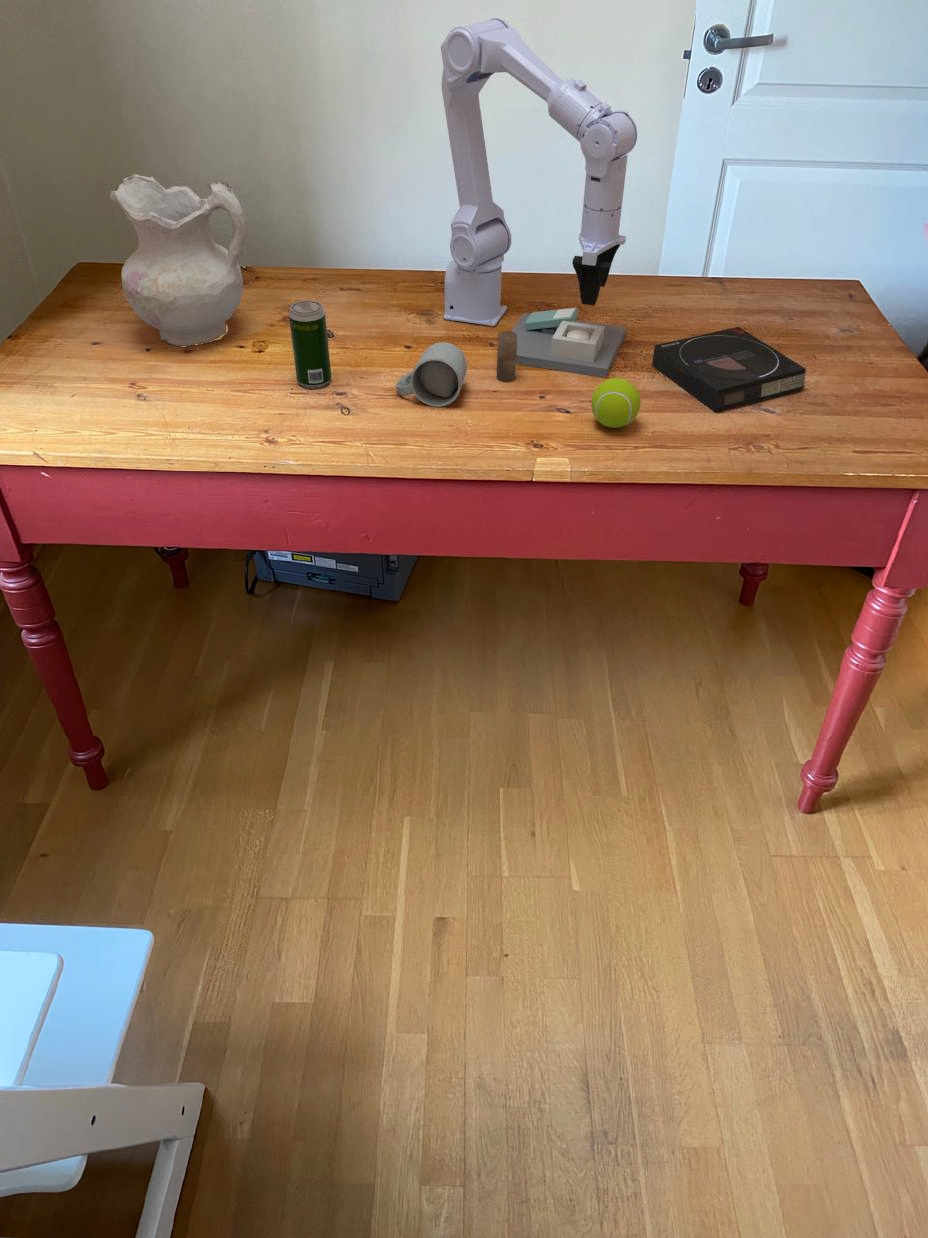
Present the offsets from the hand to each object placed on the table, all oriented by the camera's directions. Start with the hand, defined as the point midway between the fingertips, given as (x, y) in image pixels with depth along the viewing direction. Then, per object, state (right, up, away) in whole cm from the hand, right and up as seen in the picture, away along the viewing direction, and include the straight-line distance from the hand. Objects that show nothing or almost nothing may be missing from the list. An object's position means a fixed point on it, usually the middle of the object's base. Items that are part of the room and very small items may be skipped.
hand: (593, 294), depth 148 cm
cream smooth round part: (-2, -7, +3) cm, 8 cm away
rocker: (-6, -1, +9) cm, 10 cm away
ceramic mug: (-25, -17, -4) cm, 31 cm away
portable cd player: (+21, -14, 0) cm, 25 cm away
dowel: (-14, -13, 0) cm, 19 cm away
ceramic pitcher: (-65, -3, +12) cm, 67 cm away
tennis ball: (+1, -23, -11) cm, 26 cm away
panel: (-4, -6, +8) cm, 11 cm away
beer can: (-44, -14, -1) cm, 46 cm away
